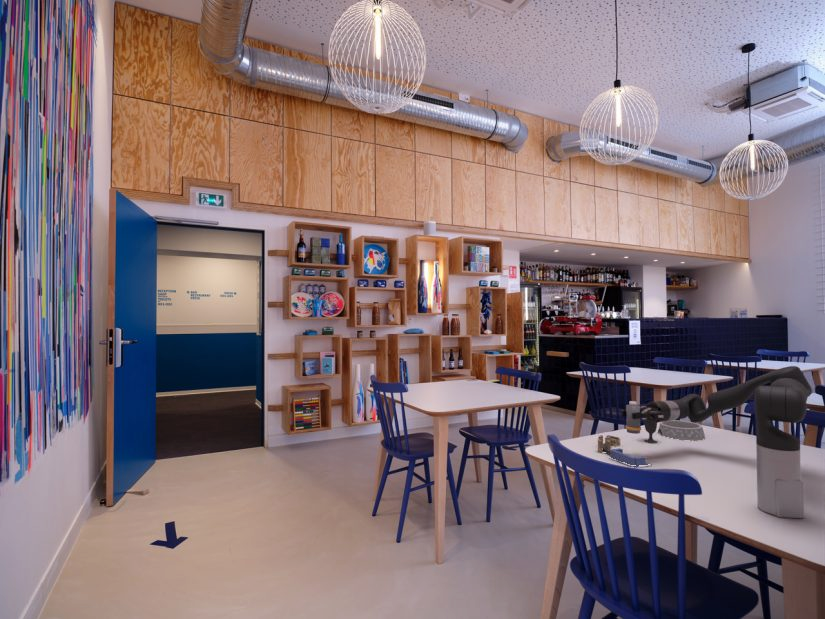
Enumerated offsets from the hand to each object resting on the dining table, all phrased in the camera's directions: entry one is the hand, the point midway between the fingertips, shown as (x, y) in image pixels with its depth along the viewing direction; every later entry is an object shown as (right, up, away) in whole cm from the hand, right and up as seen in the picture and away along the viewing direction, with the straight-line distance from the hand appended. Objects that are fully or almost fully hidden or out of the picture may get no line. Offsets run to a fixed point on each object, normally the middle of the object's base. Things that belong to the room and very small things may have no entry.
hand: (627, 414), depth 163 cm
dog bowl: (+41, -18, +36) cm, 58 cm away
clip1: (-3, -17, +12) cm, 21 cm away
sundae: (+22, -18, +26) cm, 39 cm away
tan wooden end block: (+4, -17, +22) cm, 28 cm away
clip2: (-1, -17, +18) cm, 25 cm away
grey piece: (+3, -6, +1) cm, 7 cm away
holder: (+1, -17, 0) cm, 17 cm away
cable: (0, -17, +14) cm, 22 cm away
